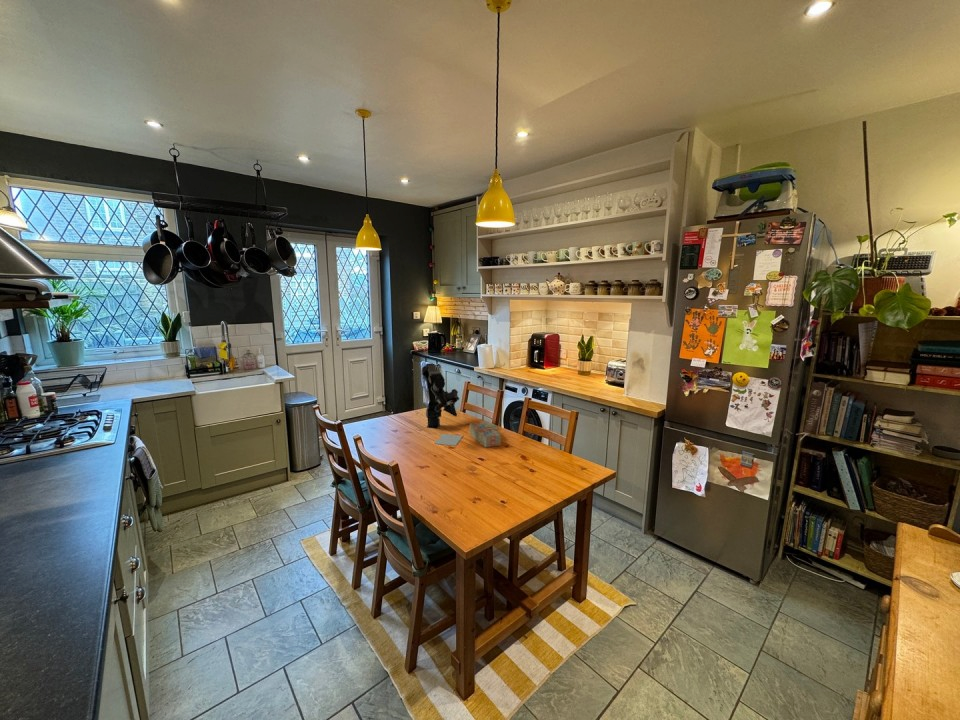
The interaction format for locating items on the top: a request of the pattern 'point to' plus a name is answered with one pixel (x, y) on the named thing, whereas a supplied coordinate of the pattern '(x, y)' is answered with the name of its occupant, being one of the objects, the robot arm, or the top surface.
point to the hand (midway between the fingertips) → (456, 415)
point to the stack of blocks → (485, 433)
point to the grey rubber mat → (449, 439)
